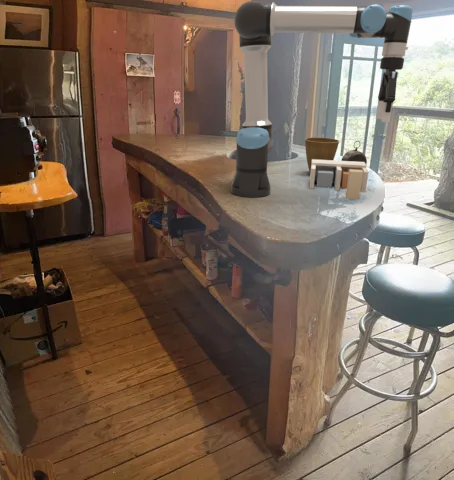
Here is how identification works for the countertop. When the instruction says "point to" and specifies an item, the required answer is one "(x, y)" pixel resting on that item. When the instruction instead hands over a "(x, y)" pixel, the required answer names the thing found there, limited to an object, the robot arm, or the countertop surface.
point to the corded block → (352, 183)
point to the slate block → (324, 178)
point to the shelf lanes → (337, 171)
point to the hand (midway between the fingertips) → (382, 120)
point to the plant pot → (320, 149)
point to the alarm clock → (354, 156)
